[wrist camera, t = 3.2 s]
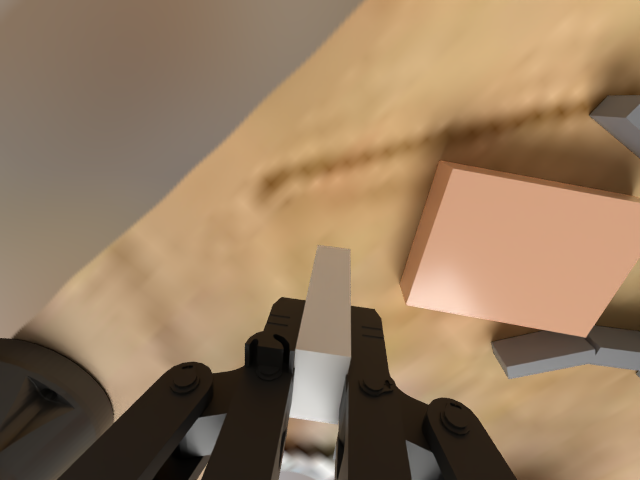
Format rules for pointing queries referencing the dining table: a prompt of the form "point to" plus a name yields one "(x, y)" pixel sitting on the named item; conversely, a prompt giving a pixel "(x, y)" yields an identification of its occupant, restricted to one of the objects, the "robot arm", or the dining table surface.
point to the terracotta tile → (520, 249)
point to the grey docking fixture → (602, 342)
